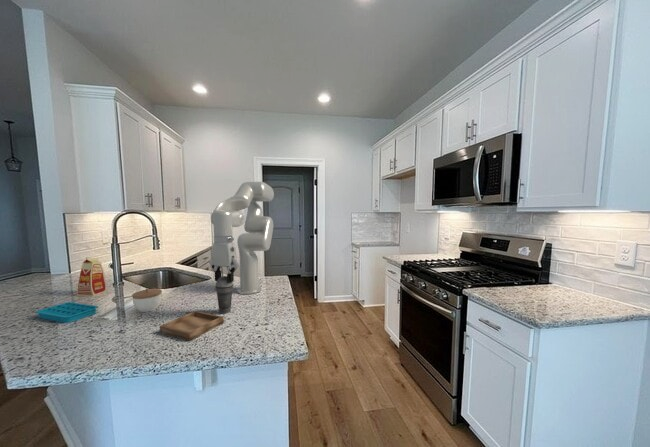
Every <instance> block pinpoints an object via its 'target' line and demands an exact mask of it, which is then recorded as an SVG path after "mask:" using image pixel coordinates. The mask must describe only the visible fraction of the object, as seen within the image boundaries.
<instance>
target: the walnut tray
mask: <svg viewBox="0 0 650 447" xmlns="http://www.w3.org/2000/svg"><path fill="white" fill-rule="evenodd" d="M224 322H225V321H224V316H222V315H217V314H214V313H213V314H212V313H209V312H203V311H198V310H194V311H192V312H190V313H188V314H185V315H182V316H180V317H178V318H176V319H173V320H171V321H169V322H166V323H164V324H161V325H160V326H159V333H160V334H163V335H167V336H169V337H170V336H171V337H174V338H177V339H180V340H184V341H188V342H191V341H193V340H195V339H196V338H198V337H200V336H202V335H203V334H206V333H207V332H210V331H211V330H213V329H214V328H217V327H218V326H221V325H222V324H224Z"/></svg>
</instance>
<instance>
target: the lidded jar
mask: <svg viewBox="0 0 650 447" xmlns="http://www.w3.org/2000/svg"><path fill="white" fill-rule="evenodd" d="M162 293H163V291H162V289H160V288H150V289H149V287H148V288H145V289H144V290H140V291H136V292H134V293H133V294H131V295H132V296H131V297H132V303H133V304H132V305H133V306H134V308H135V309H136V310H137V311H139V312H140V313H147V312H151V311H154V310H156V309H157V307H159V305H160V304H161V301H162Z"/></svg>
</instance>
